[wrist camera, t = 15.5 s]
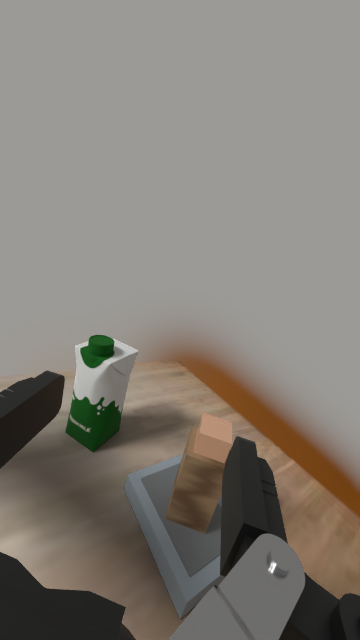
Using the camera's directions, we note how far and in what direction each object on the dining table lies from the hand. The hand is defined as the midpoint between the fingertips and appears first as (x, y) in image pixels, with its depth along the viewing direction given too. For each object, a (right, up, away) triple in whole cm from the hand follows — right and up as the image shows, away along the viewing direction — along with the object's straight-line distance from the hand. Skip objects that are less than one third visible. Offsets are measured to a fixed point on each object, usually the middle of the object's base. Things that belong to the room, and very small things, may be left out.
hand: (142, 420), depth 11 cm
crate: (+3, -22, +25) cm, 33 cm away
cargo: (+6, -12, +21) cm, 25 cm away
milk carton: (-15, -17, +37) cm, 44 cm away
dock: (+2, -25, +26) cm, 36 cm away
